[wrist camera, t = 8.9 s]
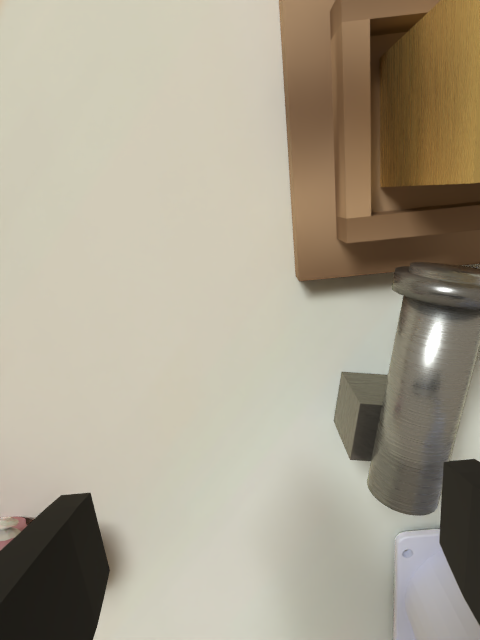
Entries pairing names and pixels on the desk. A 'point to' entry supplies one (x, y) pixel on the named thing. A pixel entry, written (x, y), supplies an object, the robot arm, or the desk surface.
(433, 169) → the rectangular peg
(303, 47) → the socket
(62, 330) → the desk surface
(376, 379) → the shaft
